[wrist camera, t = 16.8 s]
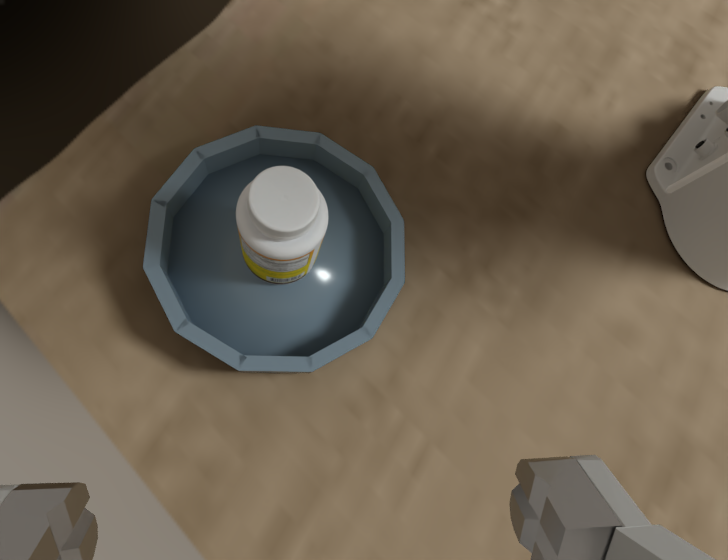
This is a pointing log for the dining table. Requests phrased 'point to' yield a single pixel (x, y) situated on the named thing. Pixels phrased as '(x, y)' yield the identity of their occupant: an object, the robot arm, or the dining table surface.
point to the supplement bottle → (281, 224)
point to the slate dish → (246, 291)
